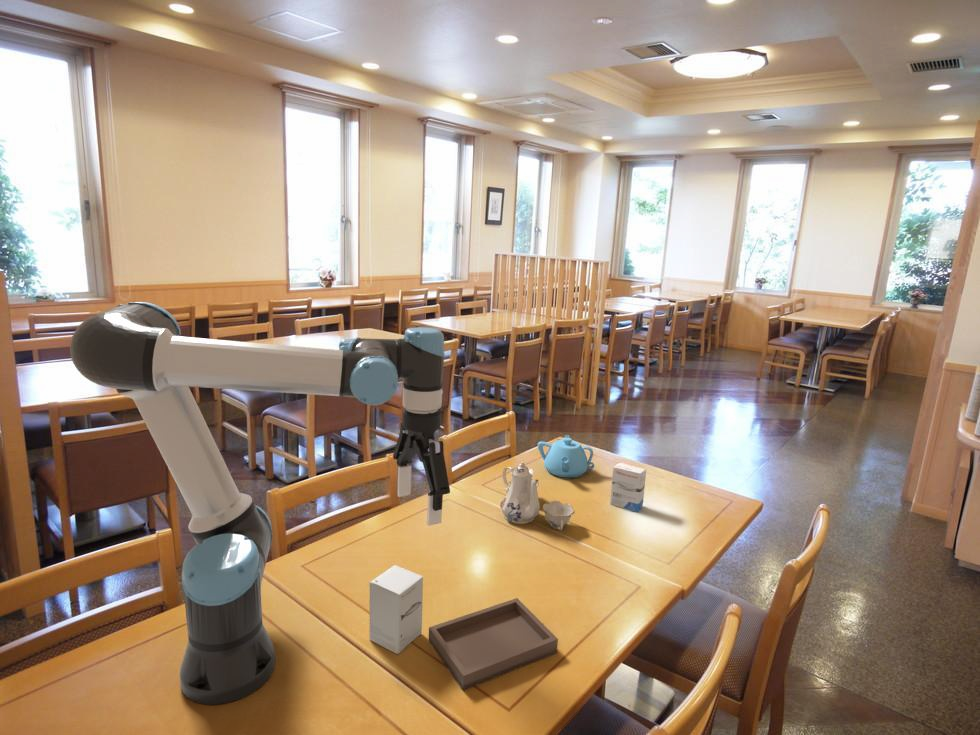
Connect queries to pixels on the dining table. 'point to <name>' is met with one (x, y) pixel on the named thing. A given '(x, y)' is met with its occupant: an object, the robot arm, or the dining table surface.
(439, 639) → the tray
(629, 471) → the ink box
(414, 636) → the supplement box
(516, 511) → the chinaware
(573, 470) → the teapot
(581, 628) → the dining table surface
